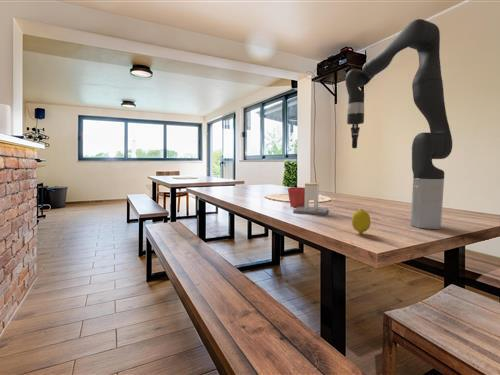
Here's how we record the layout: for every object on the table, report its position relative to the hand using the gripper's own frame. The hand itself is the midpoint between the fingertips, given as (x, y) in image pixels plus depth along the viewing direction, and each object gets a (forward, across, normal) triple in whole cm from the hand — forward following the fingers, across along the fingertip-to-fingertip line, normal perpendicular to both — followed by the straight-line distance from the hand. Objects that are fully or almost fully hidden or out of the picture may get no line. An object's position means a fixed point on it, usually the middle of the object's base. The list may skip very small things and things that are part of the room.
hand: (354, 147), depth 134 cm
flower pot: (+30, 0, -27) cm, 41 cm away
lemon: (+30, +50, +3) cm, 59 cm away
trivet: (+30, +14, -18) cm, 38 cm away
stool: (+29, +14, -18) cm, 37 cm away
